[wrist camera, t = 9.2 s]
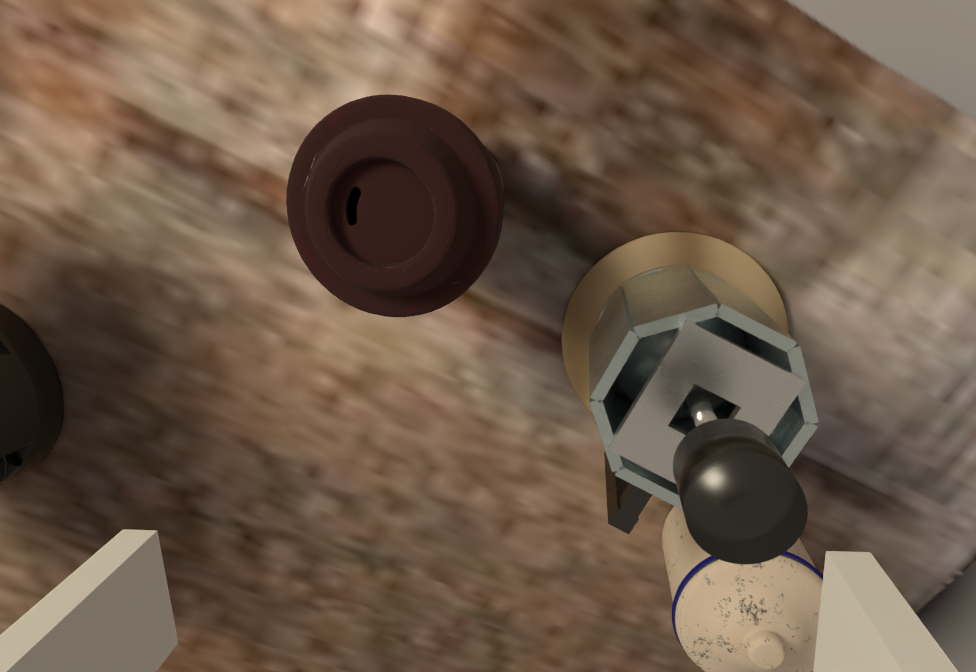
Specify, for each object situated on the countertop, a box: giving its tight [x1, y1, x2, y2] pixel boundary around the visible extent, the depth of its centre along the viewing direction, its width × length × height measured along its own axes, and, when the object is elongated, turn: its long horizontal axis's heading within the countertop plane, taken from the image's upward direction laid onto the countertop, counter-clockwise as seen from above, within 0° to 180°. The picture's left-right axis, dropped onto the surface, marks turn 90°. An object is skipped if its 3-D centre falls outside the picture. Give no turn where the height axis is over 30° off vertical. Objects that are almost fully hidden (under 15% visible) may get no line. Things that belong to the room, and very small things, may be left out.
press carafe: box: [589, 264, 819, 534], centre depth 38 cm, size 10×13×12 cm
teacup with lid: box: [662, 506, 823, 672], centre depth 42 cm, size 12×9×12 cm
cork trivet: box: [562, 232, 788, 415], centre depth 44 cm, size 14×14×1 cm
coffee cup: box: [286, 95, 504, 317], centre depth 36 cm, size 10×10×15 cm
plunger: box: [617, 317, 808, 565], centre depth 32 cm, size 8×8×19 cm
